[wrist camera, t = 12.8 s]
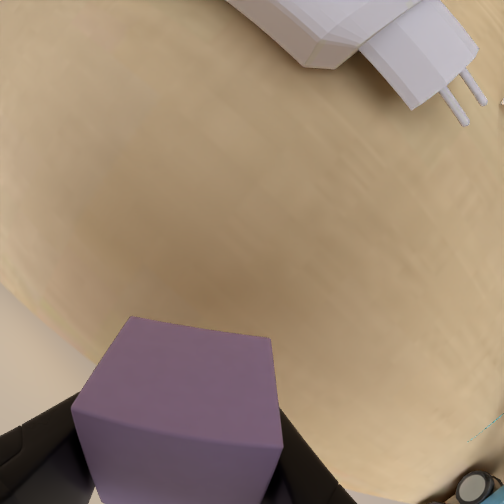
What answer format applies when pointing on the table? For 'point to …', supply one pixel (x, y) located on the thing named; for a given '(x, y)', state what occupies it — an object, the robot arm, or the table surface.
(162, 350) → the purple block
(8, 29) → the table surface
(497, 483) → the toy excavator
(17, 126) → the table surface
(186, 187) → the table surface
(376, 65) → the charger
